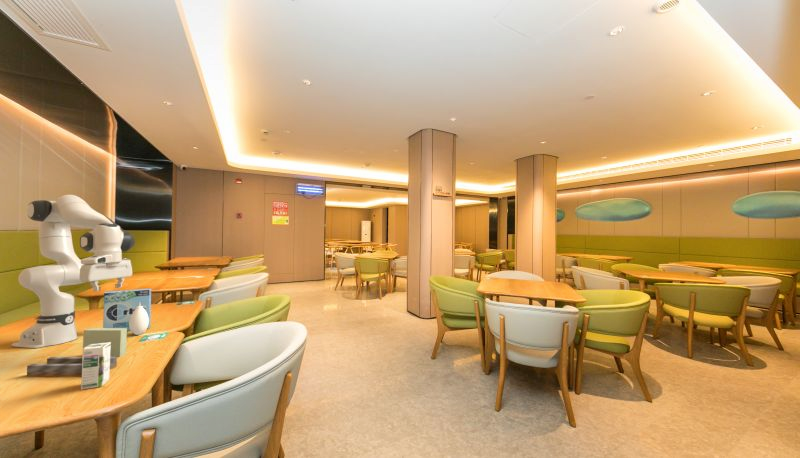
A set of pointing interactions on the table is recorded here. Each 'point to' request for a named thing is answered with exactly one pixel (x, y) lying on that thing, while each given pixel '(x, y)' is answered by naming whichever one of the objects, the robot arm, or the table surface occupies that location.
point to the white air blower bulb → (139, 321)
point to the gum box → (124, 306)
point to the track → (61, 367)
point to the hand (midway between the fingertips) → (108, 289)
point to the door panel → (107, 339)
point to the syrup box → (95, 365)
